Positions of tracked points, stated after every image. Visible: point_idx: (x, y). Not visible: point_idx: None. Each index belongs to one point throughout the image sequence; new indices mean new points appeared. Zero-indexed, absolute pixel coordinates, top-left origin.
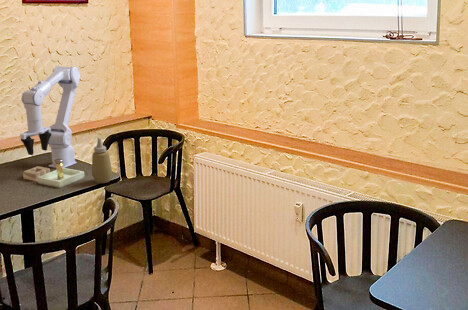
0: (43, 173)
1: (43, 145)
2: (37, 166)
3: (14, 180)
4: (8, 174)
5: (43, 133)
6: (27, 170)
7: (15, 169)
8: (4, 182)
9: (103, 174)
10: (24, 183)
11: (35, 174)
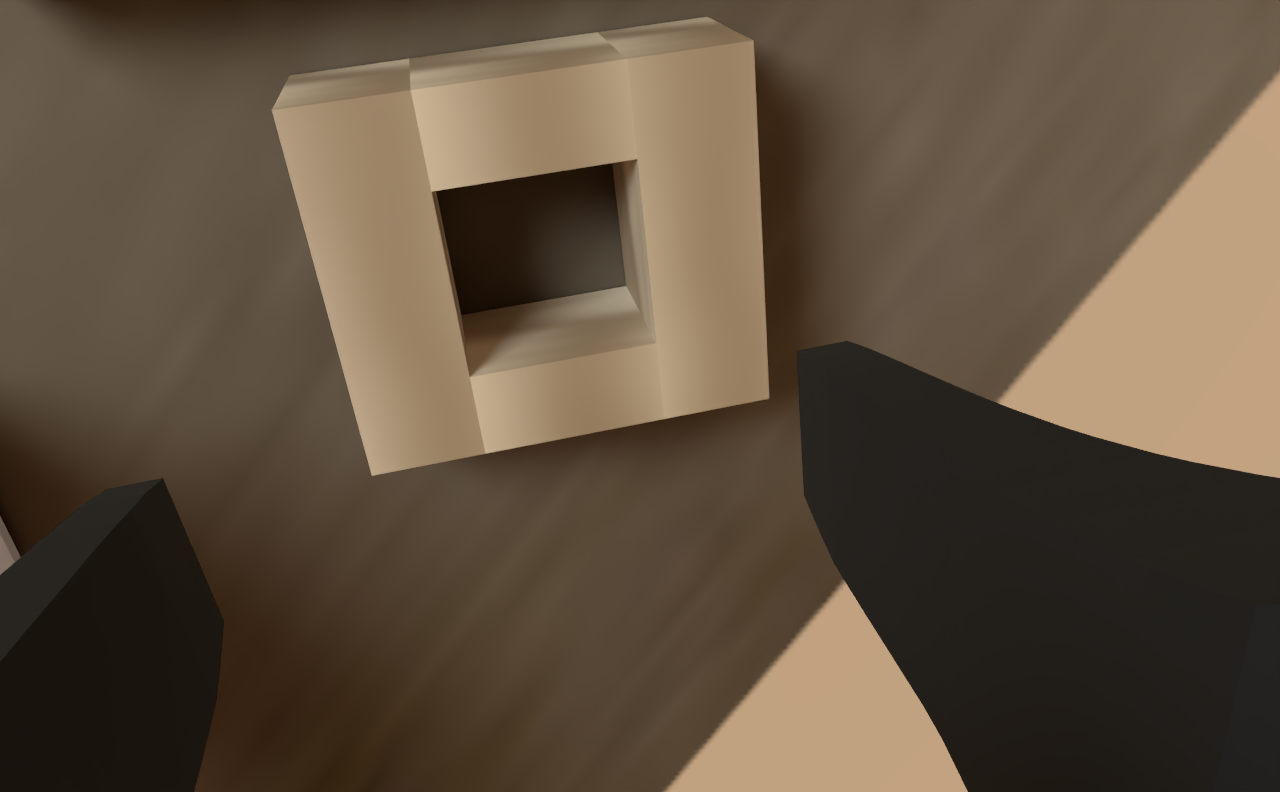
0: (495, 67)
1: (150, 694)
2: (382, 465)
3: None
4: (712, 668)
5: None
6: (670, 395)
7: (508, 786)
8: None
9: None
10: (897, 98)
11: (742, 41)
